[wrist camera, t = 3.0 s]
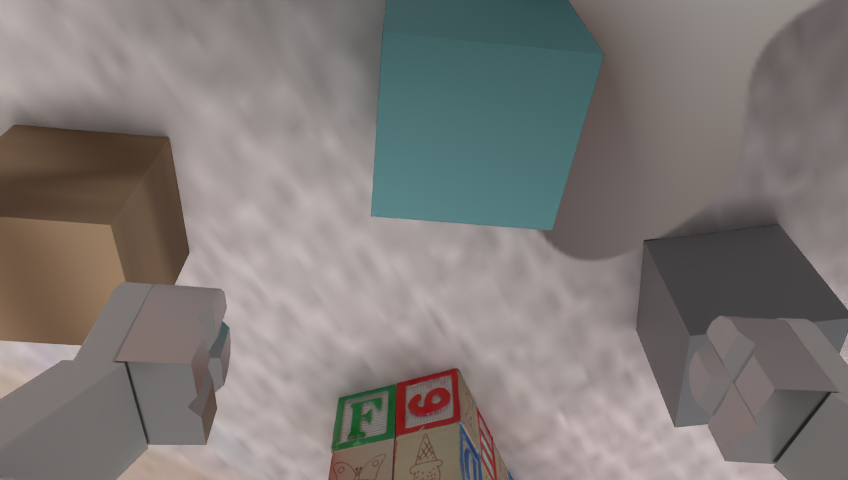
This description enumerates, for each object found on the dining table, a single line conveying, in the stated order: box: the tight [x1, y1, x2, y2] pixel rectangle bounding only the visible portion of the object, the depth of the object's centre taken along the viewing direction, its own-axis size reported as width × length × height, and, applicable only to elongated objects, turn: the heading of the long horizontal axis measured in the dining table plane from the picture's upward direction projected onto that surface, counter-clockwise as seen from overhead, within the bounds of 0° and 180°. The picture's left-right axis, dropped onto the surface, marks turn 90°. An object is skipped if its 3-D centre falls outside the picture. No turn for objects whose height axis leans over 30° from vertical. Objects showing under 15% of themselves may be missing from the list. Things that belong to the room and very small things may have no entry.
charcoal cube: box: [636, 224, 848, 427], centre depth 23 cm, size 5×5×5 cm
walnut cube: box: [0, 125, 189, 345], centre depth 20 cm, size 5×5×5 cm
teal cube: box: [371, 0, 604, 230], centre depth 17 cm, size 5×5×5 cm
